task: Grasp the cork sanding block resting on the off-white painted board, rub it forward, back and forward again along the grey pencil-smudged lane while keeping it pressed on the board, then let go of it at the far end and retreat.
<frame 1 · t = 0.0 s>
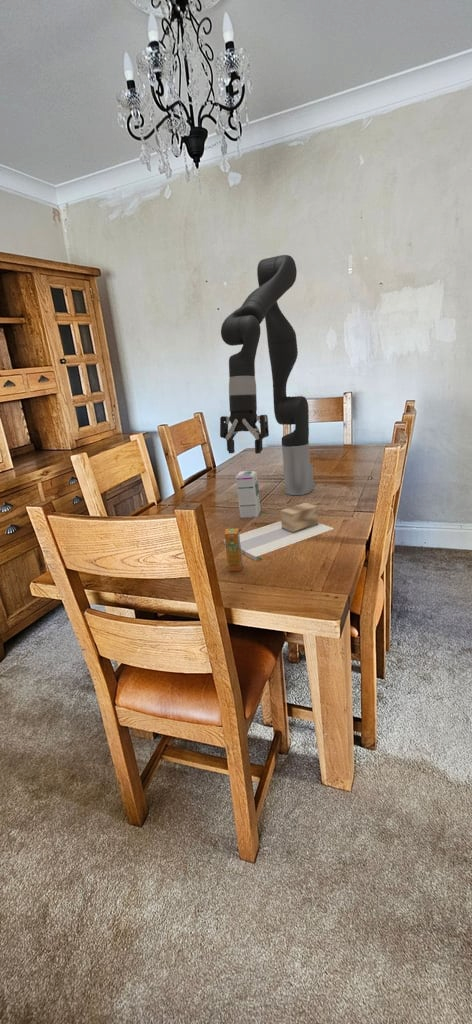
hand: (244, 453, 135), 22 cm above the table, tool pointing down, fingers open, 8 cm apart
syrup box: (251, 518, 150), on the table
supplement box: (235, 569, 116), on the table
sanding block: (300, 526, 135), point 1 cm above the table, touching board
board: (278, 538, 132), on the table
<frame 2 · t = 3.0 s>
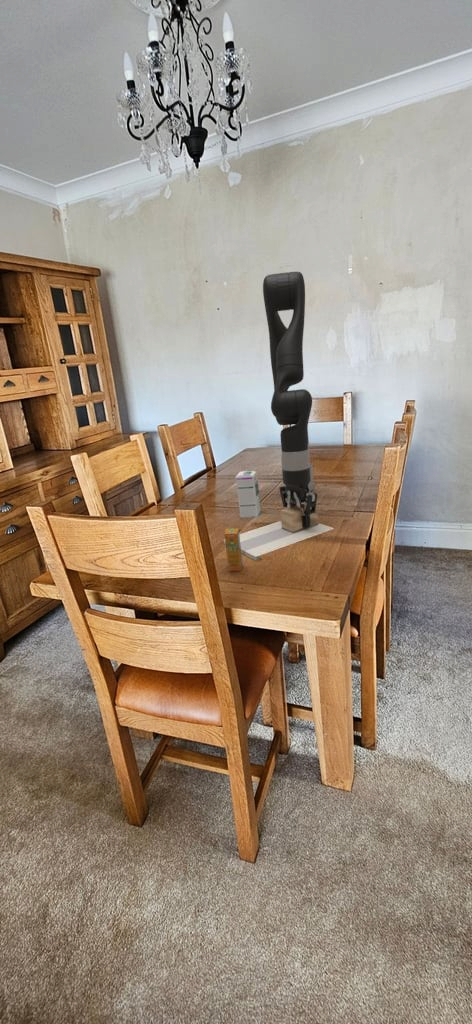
hand: (299, 524, 135), 2 cm above the table, tool pointing down, fingers closed on sanding block, 5 cm apart
sanding block: (300, 526, 135), point 1 cm above the table, touching board, gripper
everything else where it was.
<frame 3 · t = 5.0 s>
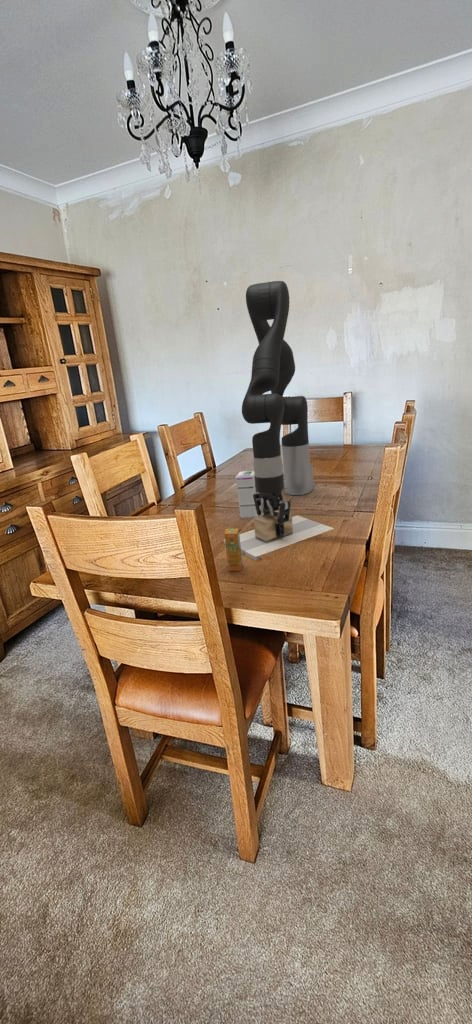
hand: (273, 533, 130), 2 cm above the table, tool pointing down, fingers closed on sanding block, 5 cm apart
sanding block: (274, 535, 130), point 1 cm above the table, touching gripper
everything else where it was.
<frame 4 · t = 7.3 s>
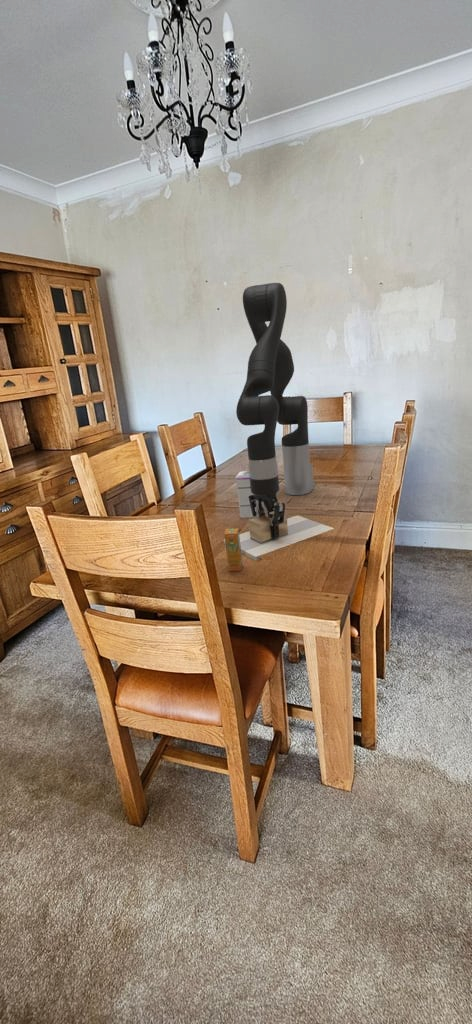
hand: (269, 534, 130), 2 cm above the table, tool pointing down, fingers closed on sanding block, 5 cm apart
sanding block: (269, 536, 130), point 1 cm above the table, touching gripper
everything else where it was.
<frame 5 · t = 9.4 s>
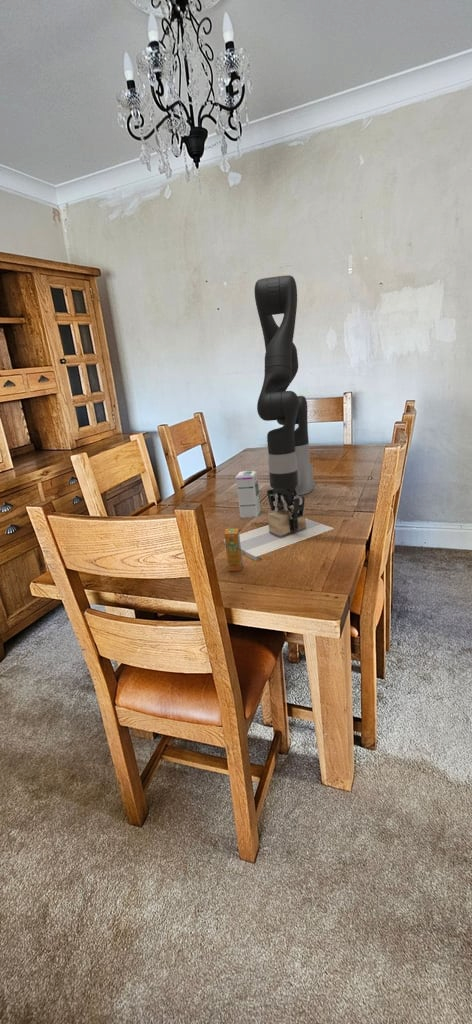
hand: (287, 528, 132), 2 cm above the table, tool pointing down, fingers closed on sanding block, 5 cm apart
sanding block: (287, 530, 132), point 1 cm above the table, touching gripper
everything else where it was.
when the fingers open (2 cm above the table, at t = 11.6 s): sanding block stays where it is, resting on board.
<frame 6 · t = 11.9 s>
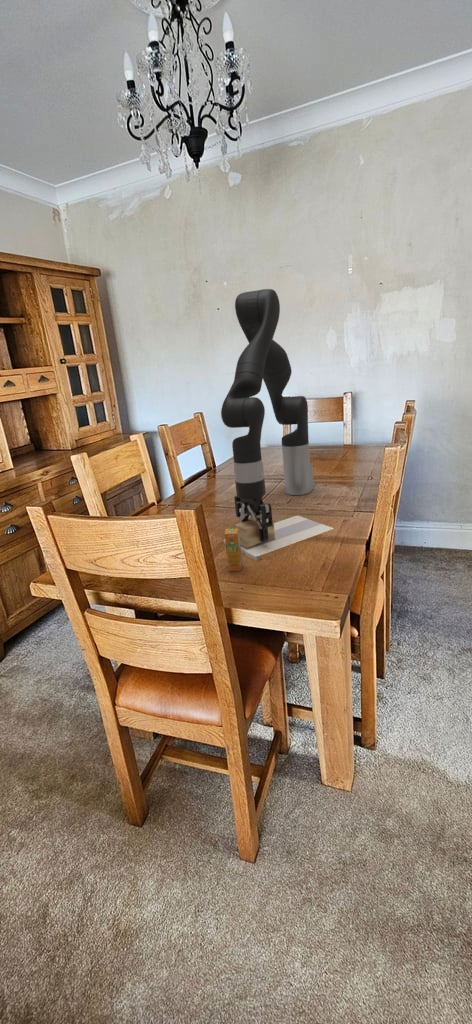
hand: (255, 537, 127), 3 cm above the table, tool pointing down, fingers open, 7 cm apart
sanding block: (256, 541, 128), point 1 cm above the table, touching board
everything else where it was.
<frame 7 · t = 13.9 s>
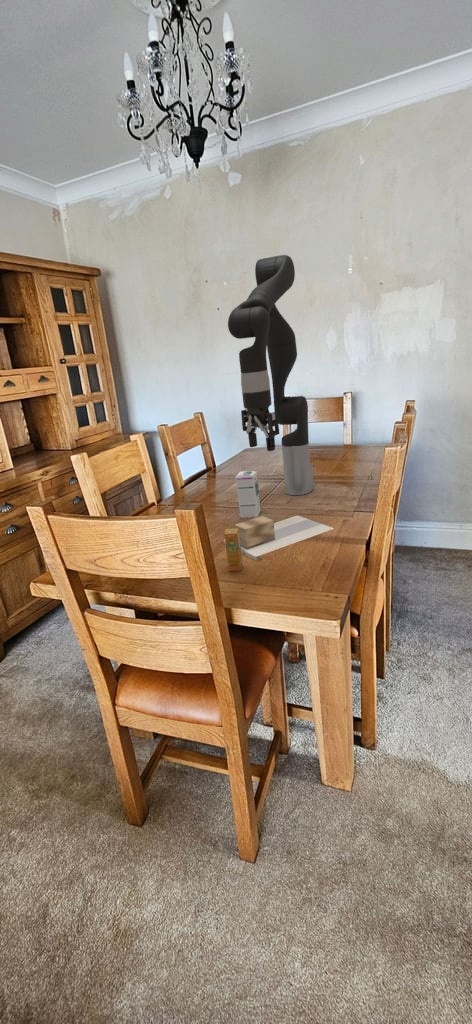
hand: (262, 448, 133), 23 cm above the table, tool pointing down, fingers open, 8 cm apart
nothing on the table moved.
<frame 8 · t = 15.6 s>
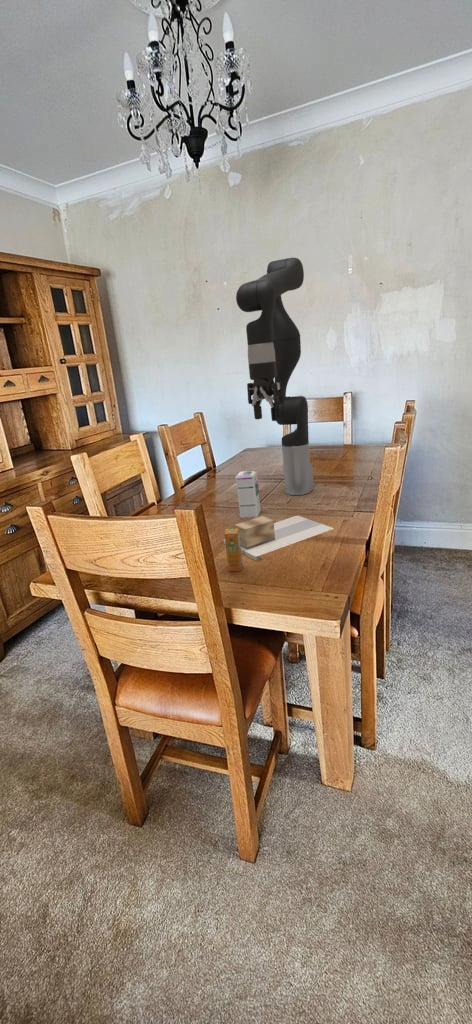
hand: (266, 419, 138), 30 cm above the table, tool pointing down, fingers open, 8 cm apart
nothing on the table moved.
at the end: sanding block inside the target area on the board (0.2 cm from its centre), point 1.2 cm above the board's base; sanding block touching board; the gripper is holding nothing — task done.
